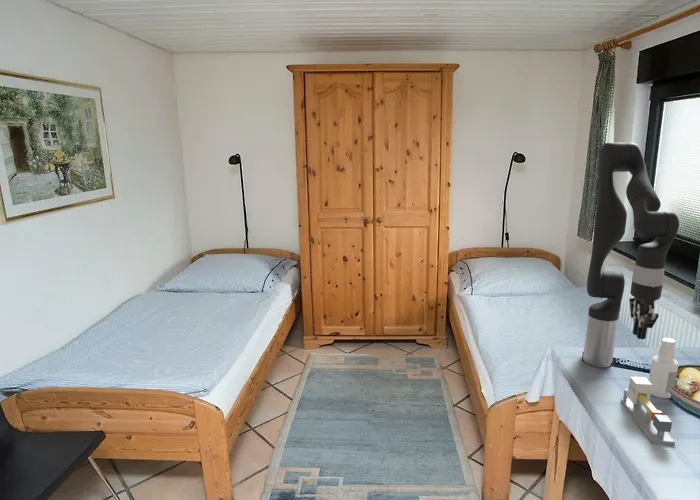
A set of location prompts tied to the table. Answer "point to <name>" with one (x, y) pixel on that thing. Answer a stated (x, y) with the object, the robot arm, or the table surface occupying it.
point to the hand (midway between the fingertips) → (638, 336)
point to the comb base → (646, 422)
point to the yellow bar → (655, 415)
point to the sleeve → (638, 388)
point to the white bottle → (664, 369)
